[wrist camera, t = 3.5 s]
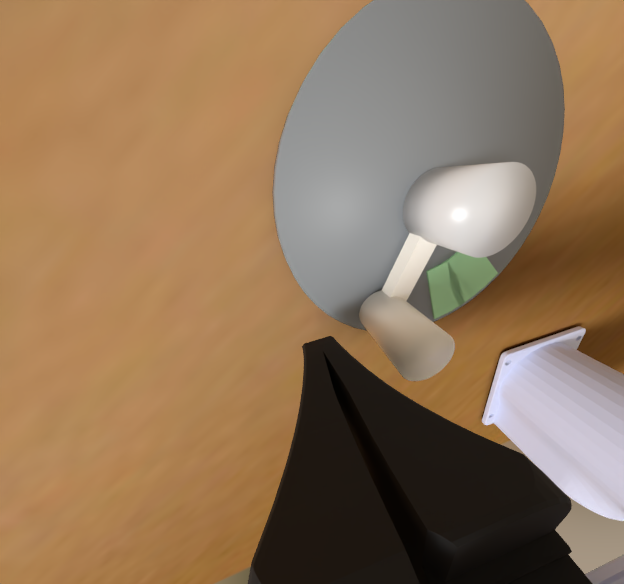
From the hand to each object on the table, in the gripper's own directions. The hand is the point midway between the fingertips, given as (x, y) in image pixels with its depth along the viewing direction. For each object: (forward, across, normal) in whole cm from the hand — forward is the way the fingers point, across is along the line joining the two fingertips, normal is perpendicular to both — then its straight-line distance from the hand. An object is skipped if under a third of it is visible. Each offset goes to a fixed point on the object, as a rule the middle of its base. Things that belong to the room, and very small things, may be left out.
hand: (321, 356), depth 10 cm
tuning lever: (+2, -5, -3) cm, 6 cm away
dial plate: (+3, -7, -5) cm, 9 cm away
